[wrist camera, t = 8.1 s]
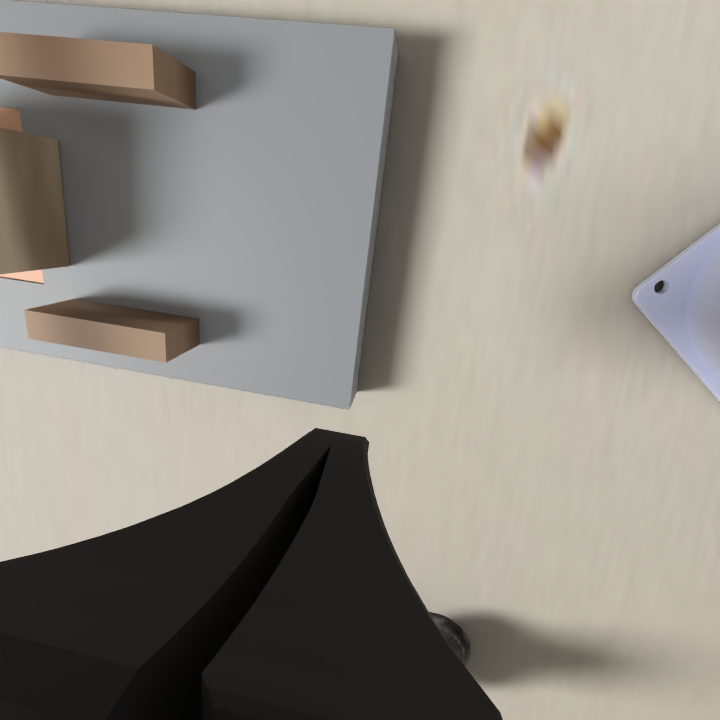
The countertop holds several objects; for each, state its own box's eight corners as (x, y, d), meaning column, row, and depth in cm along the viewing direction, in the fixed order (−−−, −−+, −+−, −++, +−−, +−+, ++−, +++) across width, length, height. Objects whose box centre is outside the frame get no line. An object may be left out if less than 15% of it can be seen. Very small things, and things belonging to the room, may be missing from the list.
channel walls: (195, 71, 15) (152, 44, 13) (199, 344, 18) (166, 362, 16) (46, 58, 16) (-21, 30, 13) (77, 324, 19) (28, 338, 17)
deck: (399, 51, 15) (394, 28, 14) (356, 392, 20) (349, 409, 18) (-202, 4, 18) (-273, -21, 17) (-117, 310, 23) (-165, 318, 21)
